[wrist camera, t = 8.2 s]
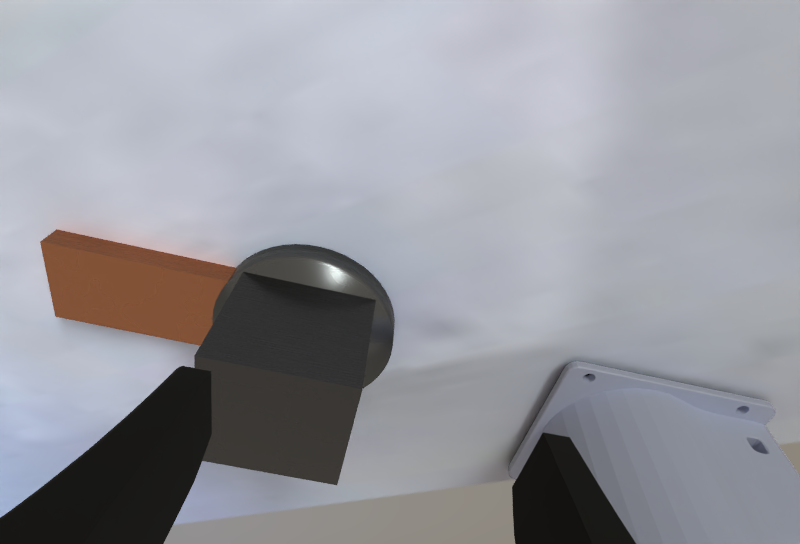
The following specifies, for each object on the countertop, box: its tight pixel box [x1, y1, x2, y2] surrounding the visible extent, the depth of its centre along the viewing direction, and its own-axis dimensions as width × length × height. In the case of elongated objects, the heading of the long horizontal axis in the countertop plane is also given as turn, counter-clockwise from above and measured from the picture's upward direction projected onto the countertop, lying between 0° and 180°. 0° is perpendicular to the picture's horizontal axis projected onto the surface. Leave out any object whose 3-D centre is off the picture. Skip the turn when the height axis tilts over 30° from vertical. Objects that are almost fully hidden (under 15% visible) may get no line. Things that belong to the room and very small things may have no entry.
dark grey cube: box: [195, 272, 376, 485], centre depth 18 cm, size 5×5×4 cm
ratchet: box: [40, 230, 394, 388], centre depth 19 cm, size 14×7×4 cm, turn 77°
